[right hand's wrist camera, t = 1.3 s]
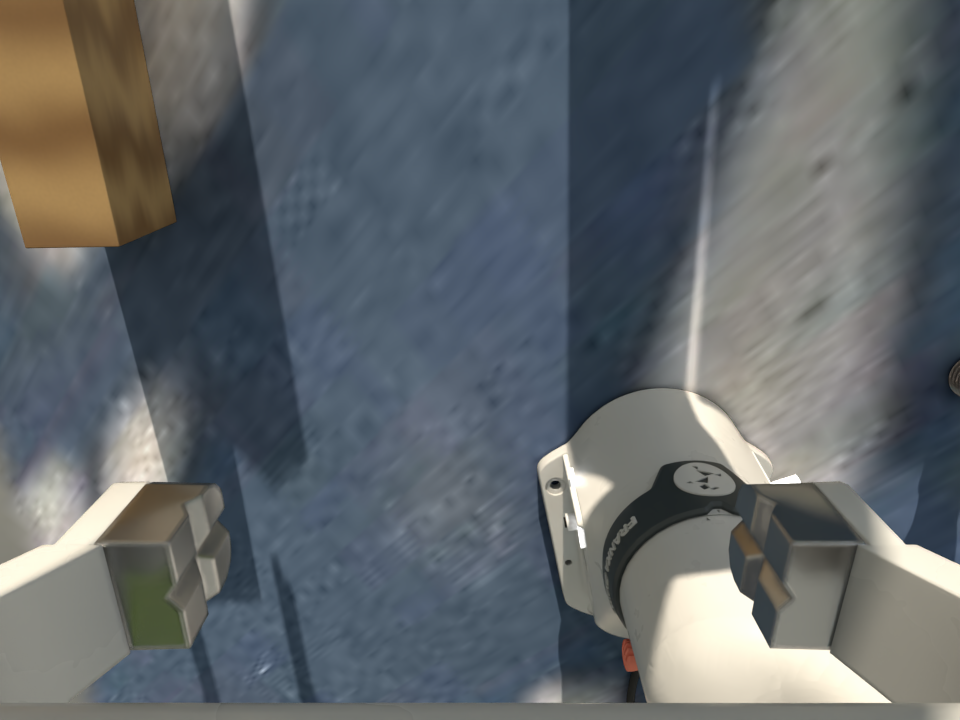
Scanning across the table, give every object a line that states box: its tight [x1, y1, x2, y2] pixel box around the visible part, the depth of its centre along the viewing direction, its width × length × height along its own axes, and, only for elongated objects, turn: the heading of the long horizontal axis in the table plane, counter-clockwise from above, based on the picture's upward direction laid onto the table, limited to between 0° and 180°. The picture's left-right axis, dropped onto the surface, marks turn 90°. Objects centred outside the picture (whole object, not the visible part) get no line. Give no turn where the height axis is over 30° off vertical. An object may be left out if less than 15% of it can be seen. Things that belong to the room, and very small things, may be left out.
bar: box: [0, 0, 177, 248], centre depth 38 cm, size 24×6×8 cm, turn 1°
